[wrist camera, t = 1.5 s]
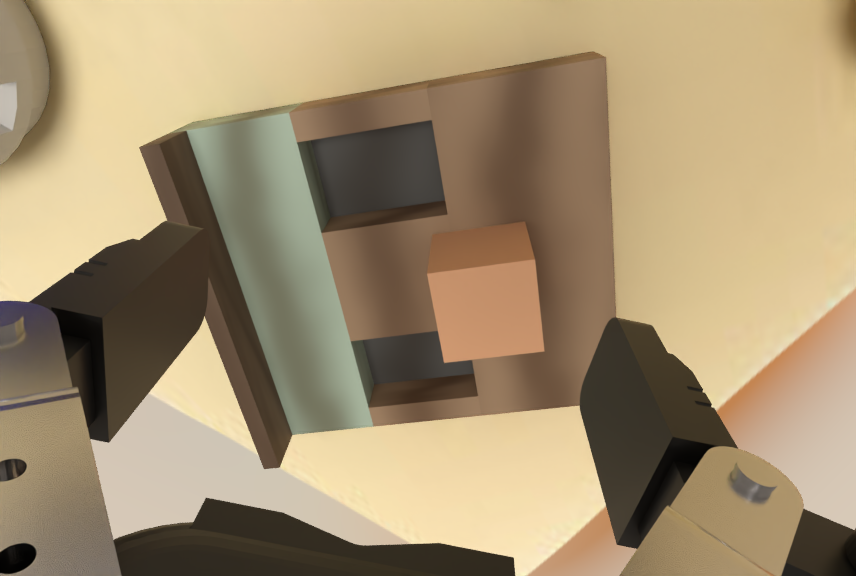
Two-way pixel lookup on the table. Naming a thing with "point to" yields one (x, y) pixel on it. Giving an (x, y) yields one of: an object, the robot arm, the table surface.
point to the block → (485, 292)
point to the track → (395, 242)
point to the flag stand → (20, 75)
